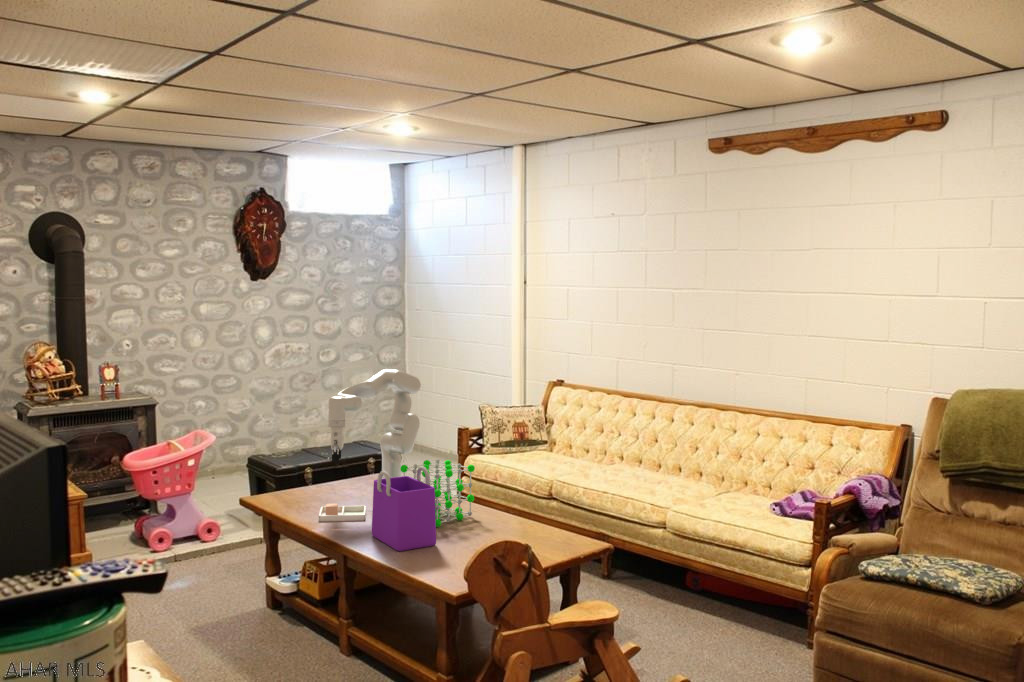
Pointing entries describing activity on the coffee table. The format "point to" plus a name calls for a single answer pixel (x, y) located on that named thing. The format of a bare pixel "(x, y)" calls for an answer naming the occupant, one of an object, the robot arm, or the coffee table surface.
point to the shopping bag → (404, 511)
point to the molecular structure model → (448, 491)
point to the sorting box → (344, 514)
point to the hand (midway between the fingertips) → (336, 460)
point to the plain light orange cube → (331, 509)
